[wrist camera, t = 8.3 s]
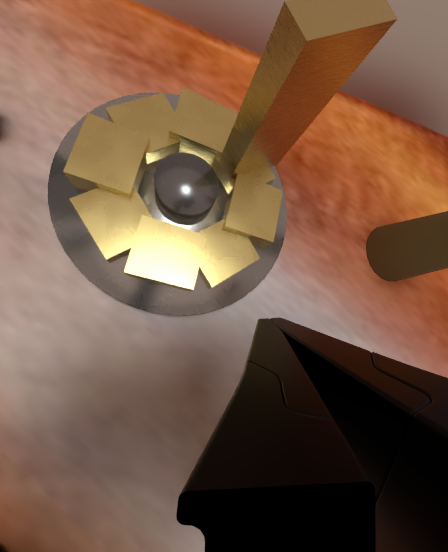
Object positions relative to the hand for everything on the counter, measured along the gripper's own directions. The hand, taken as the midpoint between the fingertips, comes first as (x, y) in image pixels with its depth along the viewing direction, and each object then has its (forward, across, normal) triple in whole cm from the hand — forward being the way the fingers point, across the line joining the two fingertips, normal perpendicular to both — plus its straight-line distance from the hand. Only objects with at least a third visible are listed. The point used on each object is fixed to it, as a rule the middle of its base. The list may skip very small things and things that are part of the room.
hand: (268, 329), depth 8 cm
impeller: (+13, -4, +4) cm, 14 cm away
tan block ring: (+12, -3, +5) cm, 13 cm away
